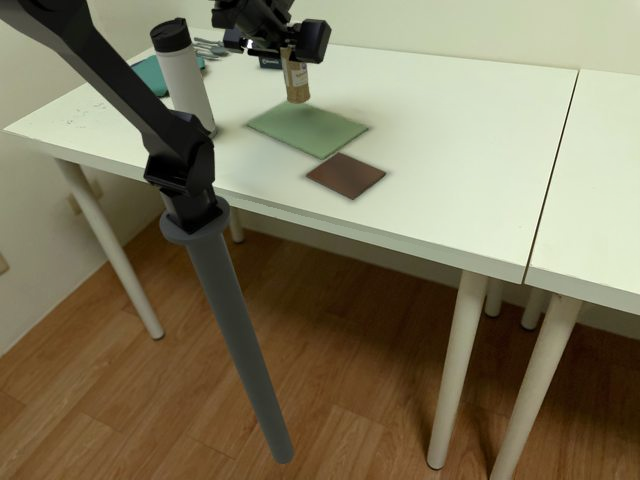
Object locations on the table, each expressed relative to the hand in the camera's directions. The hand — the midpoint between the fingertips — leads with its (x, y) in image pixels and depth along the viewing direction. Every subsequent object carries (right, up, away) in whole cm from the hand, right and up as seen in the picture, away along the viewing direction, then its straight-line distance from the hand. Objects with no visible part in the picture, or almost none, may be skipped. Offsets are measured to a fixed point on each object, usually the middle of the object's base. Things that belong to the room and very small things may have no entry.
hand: (297, 58), depth 84 cm
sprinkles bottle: (0, -6, +4) cm, 7 cm away
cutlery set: (-30, +8, +28) cm, 42 cm away
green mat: (+1, -12, +3) cm, 12 cm away
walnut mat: (+8, -22, -9) cm, 25 cm away
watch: (-6, +8, +25) cm, 27 cm away
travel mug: (-18, -12, +5) cm, 23 cm away
